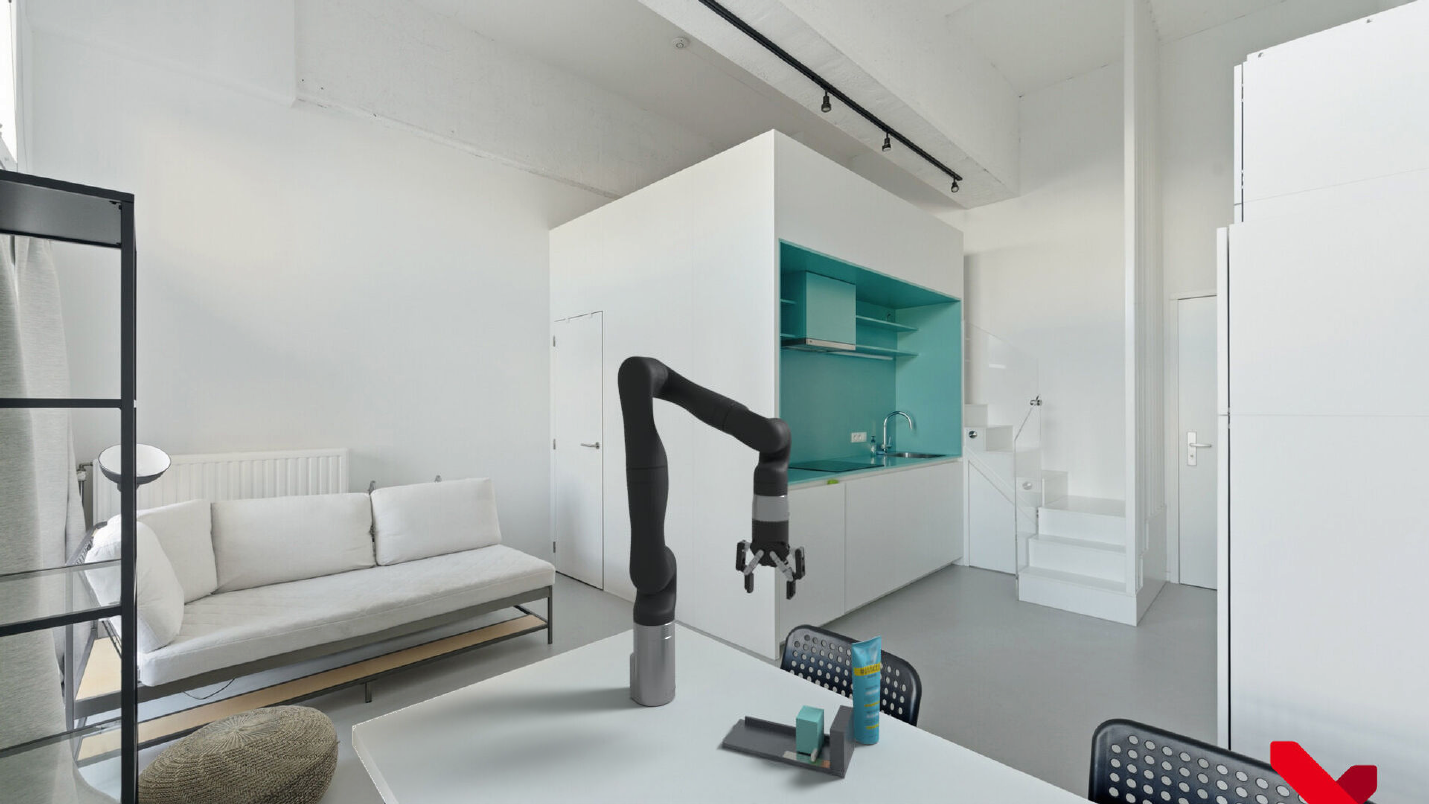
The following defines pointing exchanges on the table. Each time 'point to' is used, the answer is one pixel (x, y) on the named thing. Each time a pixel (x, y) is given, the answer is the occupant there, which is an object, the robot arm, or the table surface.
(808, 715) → the block
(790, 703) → the table surface
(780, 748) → the base
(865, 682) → the tube
